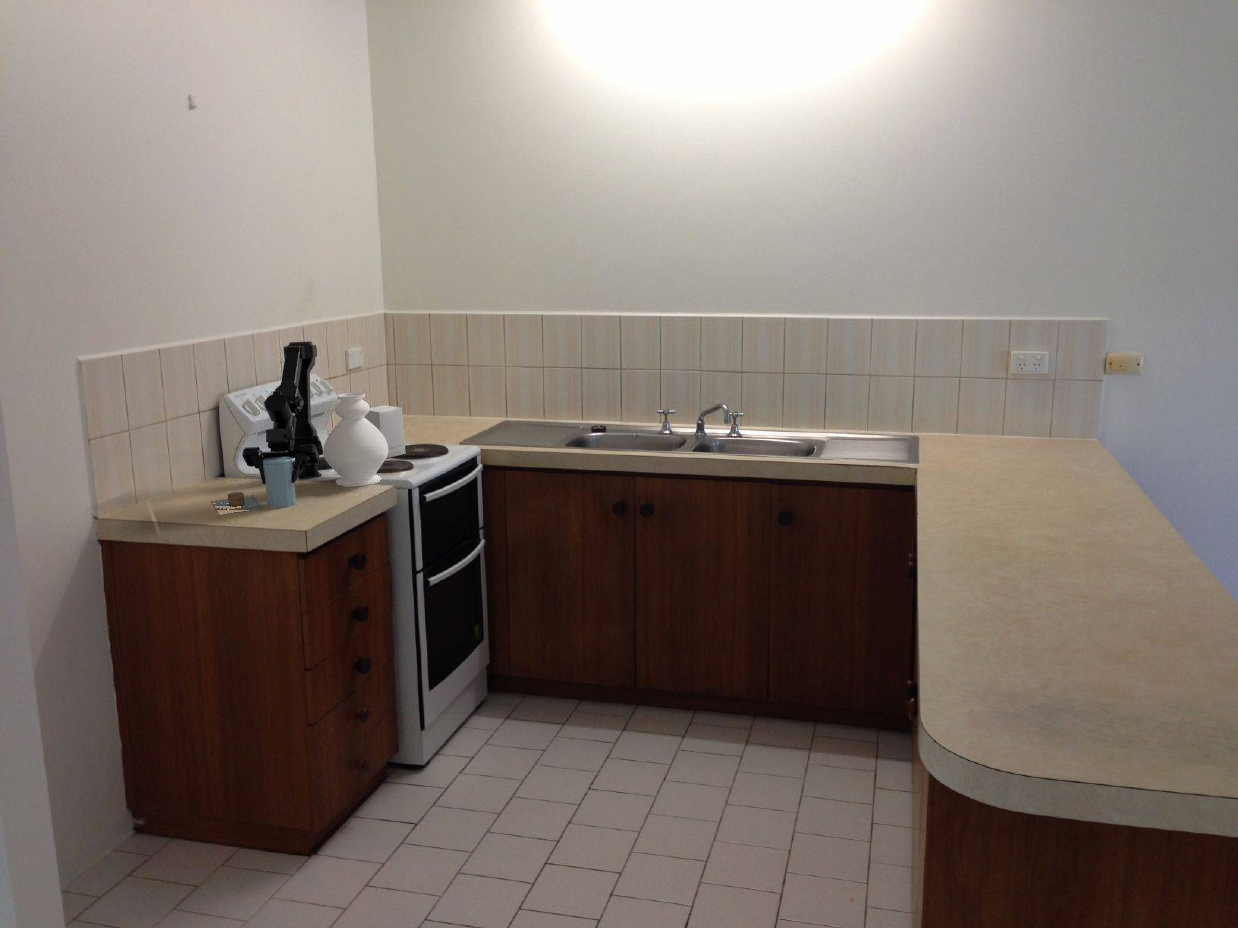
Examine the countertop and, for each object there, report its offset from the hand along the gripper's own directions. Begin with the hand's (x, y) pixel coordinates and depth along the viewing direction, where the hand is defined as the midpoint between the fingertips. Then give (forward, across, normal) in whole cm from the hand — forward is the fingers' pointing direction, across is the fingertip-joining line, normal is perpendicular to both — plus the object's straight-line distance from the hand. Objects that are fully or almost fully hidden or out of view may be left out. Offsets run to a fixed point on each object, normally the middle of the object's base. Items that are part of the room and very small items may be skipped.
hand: (278, 482), depth 282 cm
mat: (+3, -12, +7) cm, 14 cm away
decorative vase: (-13, +16, +22) cm, 30 cm away
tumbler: (+4, 0, +6) cm, 7 cm away
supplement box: (-36, +20, +46) cm, 61 cm away
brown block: (+2, -12, +6) cm, 14 cm away
